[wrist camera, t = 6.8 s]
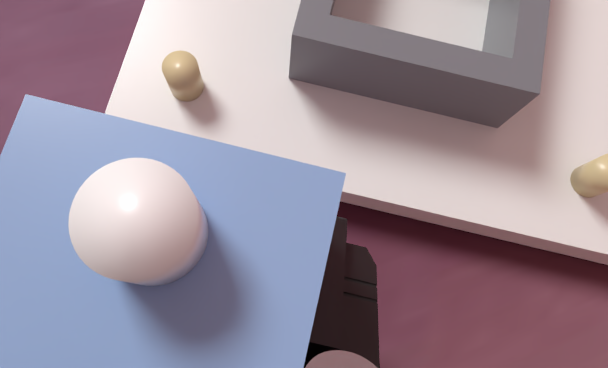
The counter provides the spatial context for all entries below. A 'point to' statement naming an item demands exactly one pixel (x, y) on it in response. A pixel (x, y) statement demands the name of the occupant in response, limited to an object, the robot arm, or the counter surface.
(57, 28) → the counter surface
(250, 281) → the block
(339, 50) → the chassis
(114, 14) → the counter surface
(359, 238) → the counter surface
